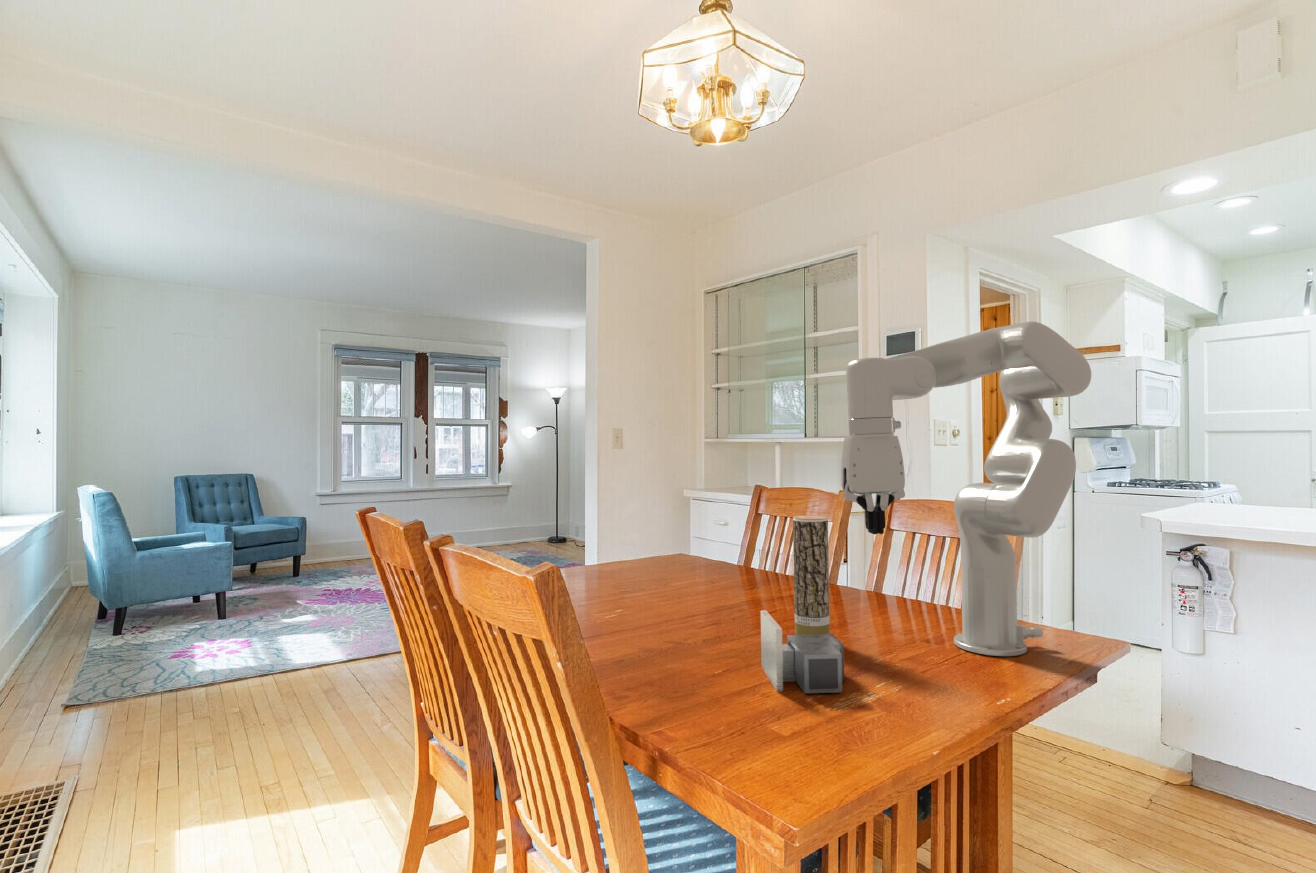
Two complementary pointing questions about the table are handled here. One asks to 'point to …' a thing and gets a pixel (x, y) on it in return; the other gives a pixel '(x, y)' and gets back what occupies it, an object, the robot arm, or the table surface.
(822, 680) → the elbow
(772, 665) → the grey t-shaped bracket
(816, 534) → the paper tube
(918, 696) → the table surface
